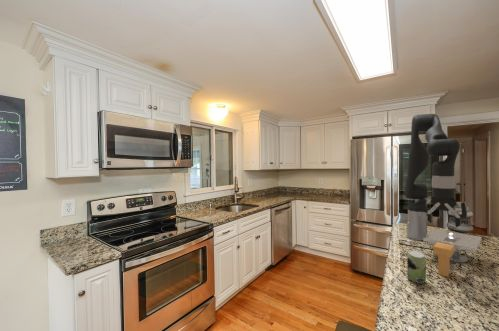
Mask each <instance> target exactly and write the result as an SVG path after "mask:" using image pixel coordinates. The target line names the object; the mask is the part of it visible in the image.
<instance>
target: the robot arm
mask: <svg viewBox="0 0 499 331" xmlns="http://www.w3.org/2000/svg"><path fill="white" fill-rule="evenodd" d="M410 128H411V133H410V134H411V135H410V147H409V154H408V163H407V164H408V165H407V173H406V174H407V175H406V180H405V185H404V191H403V192H404V197H405V198H406V199H409V200H417V201H415V202H412V203H409V204H407V222H406V238H407V237H408V239H410V238H411V239H410V240H413V239H415V240H414V241H417V240H423V238H424V237H425V236H426V235H427V234H428V222H429V224H432V223H433V212H434V211H436V210H438V211H444V212H447V211H451V212H452V213H453V214H454V215H455V216H456V218H455V226H456V227H458V226H460V225H461V218H463V217H466V216H467V208H466V207H467V202H466V201H457V200H456V187H457V186H456V180H455V164H456V160H457V158H458V155H459V152H460V149H461V145H460V141H459V140H458V139H456V138H448V135H447V133H445V131H444V130H443V128H442V123H441V120H440V118H439V116H438V115H437V114H435V113H424V114H423V113H422V114H421V113H420V114H415V115H413V117H412V120H411V127H410ZM424 132H425V134H424V138H425V141H427V146H425V144H423V142H422V140H421V138H420V133H424ZM430 156H432V157H445V159H444V160H440V161H435V162H433V163H432V165H431V168H432V170H431V174H432V176H431V177H432V178H431V199H429V198H428V195H429V194H428V193H429V190H428V186H427V185H426V184H425V183H416V182H415V181H416V180H417V178H418V177H419V176H420V175H421V174H423V172H424V171H425V170H426V169H427V168H428V166H429V161H430ZM429 203H431V204H432V207H430V209H428V204H429ZM455 206H459V207H461V209H462V214H459V213H458V211H457V210H456V209H455V208H454V207H455Z"/></svg>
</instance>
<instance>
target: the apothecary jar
mask: <svg viewBox="0 0 499 331" xmlns="http://www.w3.org/2000/svg"><path fill="white" fill-rule="evenodd" d="M454 208H455V209H456V210H457V211H458V213H459V214H462V209H461V207H459V205H456V206H455V207H454ZM466 208H467V216H466V217H463V218H461V225H460V226H458V227H456V226H455V218H456V216H455V215H454V214H453V213H452V212H451V211H446V214H447V215H448V217H449V219H448V222H447V223H446V228H448V229H449V231H454V232H458V233H462V234H467V233H471V232H473V231H474V227H473V225H472V224H471V218H472V217H473V216H474V213H473V212H472V211H471V209H470V207H468V206H466Z"/></svg>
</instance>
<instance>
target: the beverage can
mask: <svg viewBox="0 0 499 331" xmlns="http://www.w3.org/2000/svg"><path fill="white" fill-rule="evenodd" d="M406 256H407V258H406V261H407V262H406V263H407V267H406V268H407V270H406V275H407V279H409V280H410V281H411V280H412V281H411V282H413V281H414V282H413V283H415V282H417V283H416V284H423V283H425V282H426V281H427V280H426V279H427V257H426V256H425V254H424V253H423V252H421V251H419V250H410V251H409V252H408V254H407V255H406Z"/></svg>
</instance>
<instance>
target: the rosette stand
mask: <svg viewBox="0 0 499 331" xmlns="http://www.w3.org/2000/svg"><path fill="white" fill-rule="evenodd" d="M481 241H482V236H478V235H473V234H467V233H465V234H462V233H458V232H455V231H453V230H444V229H437V228H432V229H431V230H430V231H429V232H427V235H426V236H425V237H424V238H423V241H422V242H427V243H433V244H436V243H437V242H439V243H444V244H449V245H454V253H453V255H452V257H450V262H451V263H458V264H466V263H468V261H469V259H468V257H466V256H465V255H462V254H461V250H465V251H470V252H475V253H476V252H477V251H478V248H479V246H480V244H481Z"/></svg>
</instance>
